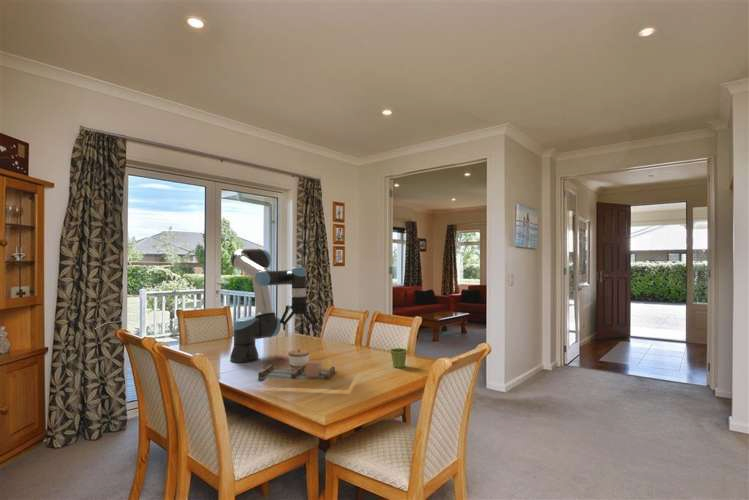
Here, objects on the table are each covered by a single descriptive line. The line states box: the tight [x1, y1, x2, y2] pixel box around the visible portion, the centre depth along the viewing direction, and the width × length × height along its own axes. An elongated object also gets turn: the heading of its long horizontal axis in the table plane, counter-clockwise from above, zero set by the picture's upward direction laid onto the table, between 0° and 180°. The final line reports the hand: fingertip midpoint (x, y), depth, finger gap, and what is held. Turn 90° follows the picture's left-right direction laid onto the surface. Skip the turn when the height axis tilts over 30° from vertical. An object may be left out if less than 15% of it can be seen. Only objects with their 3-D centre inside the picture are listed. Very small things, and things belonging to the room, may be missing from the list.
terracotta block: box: [305, 359, 322, 376], centre depth 196 cm, size 6×6×6 cm
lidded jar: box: [287, 348, 310, 367], centre depth 215 cm, size 11×11×9 cm
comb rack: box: [257, 364, 336, 381], centre depth 197 cm, size 15×33×4 cm, turn 83°
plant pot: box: [389, 347, 409, 369], centre depth 216 cm, size 9×9×9 cm
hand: (299, 337), depth 215 cm, fingers open, 13 cm apart
